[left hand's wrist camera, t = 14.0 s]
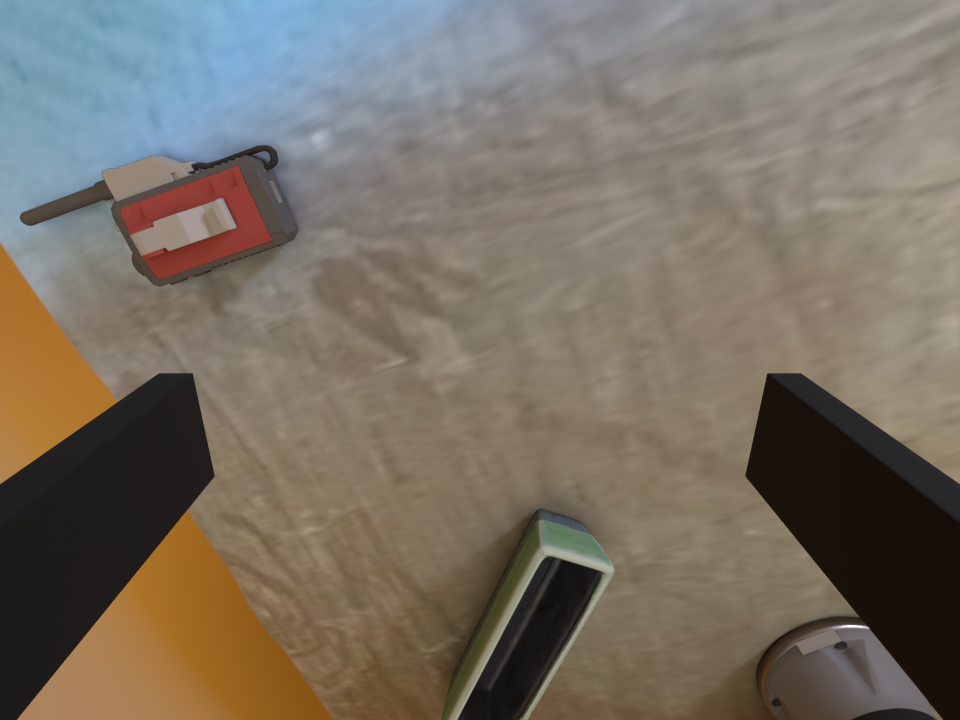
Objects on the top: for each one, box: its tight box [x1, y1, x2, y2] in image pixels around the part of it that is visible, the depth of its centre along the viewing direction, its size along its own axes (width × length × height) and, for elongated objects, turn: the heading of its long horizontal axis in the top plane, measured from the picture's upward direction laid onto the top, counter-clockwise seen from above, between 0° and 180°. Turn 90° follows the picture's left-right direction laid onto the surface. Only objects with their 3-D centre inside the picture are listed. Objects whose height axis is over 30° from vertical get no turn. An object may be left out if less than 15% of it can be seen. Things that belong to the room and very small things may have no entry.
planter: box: [441, 510, 614, 720], centre depth 52 cm, size 28×7×7 cm, turn 159°
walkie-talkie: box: [20, 145, 298, 287], centre depth 39 cm, size 9×4×20 cm
